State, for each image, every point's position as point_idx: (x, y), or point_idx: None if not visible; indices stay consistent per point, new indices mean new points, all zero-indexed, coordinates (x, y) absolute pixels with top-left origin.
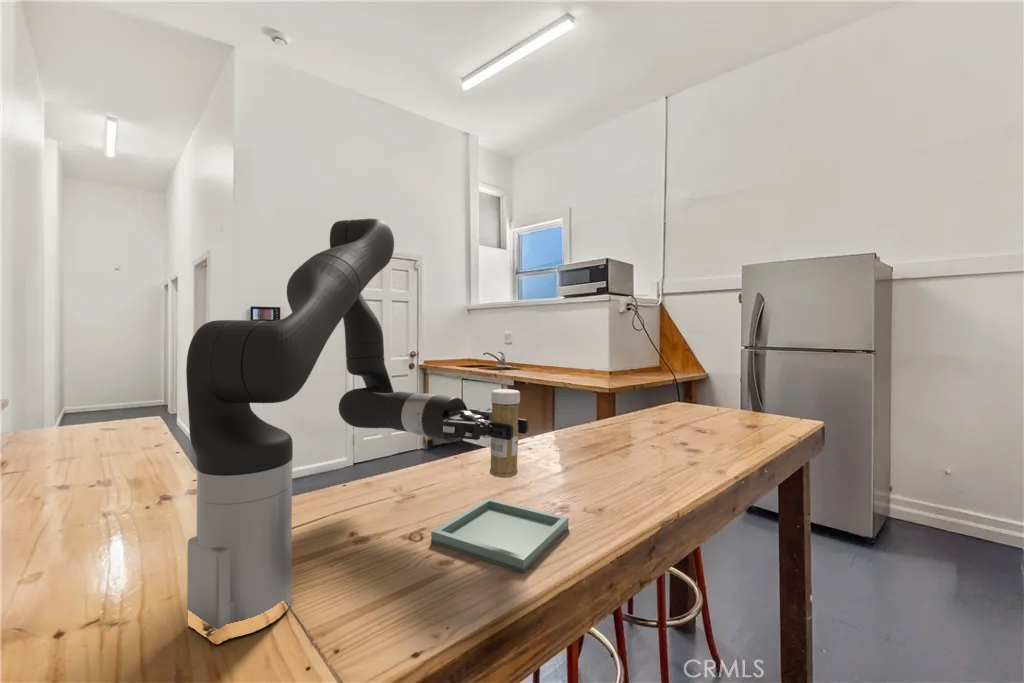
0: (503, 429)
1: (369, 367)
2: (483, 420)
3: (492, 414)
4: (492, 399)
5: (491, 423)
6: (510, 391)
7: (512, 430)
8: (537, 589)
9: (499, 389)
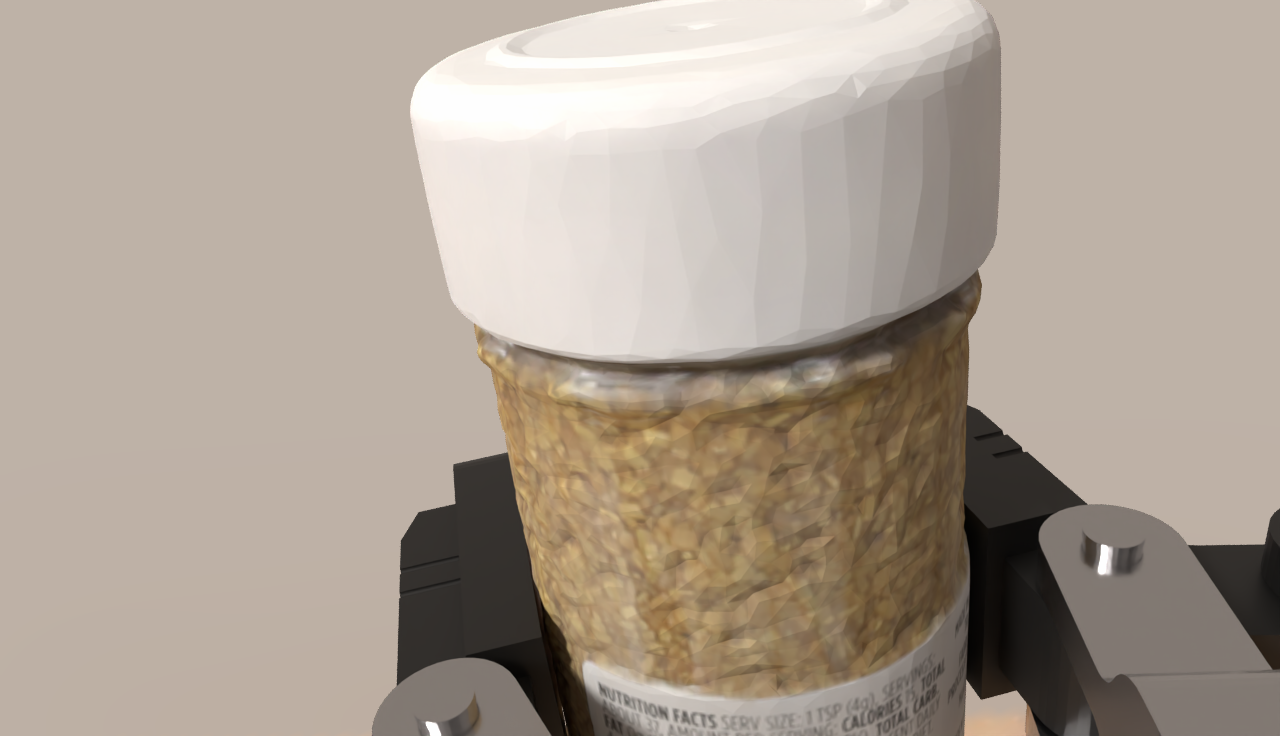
0: (970, 415)
1: None
2: (1127, 621)
3: (958, 476)
4: (996, 185)
5: (1044, 509)
6: (702, 4)
7: None
8: (1001, 726)
9: (698, 48)
